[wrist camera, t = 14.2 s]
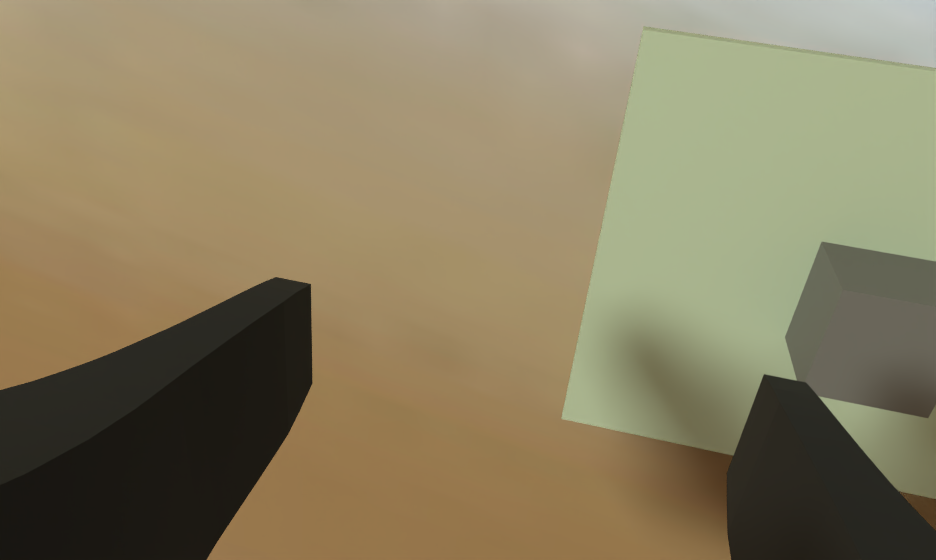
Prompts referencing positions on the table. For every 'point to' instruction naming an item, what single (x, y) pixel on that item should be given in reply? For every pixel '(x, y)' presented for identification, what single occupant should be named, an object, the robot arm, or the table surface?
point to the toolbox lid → (767, 250)
